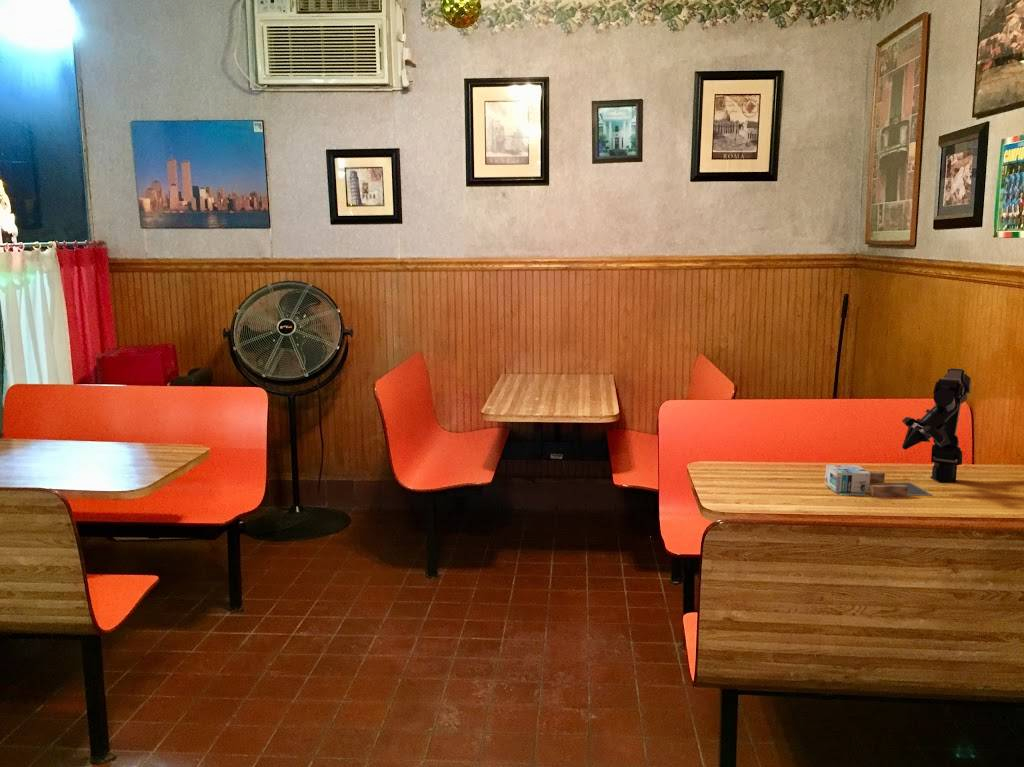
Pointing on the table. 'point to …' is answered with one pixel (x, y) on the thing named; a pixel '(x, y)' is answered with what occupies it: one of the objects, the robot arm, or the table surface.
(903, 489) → the walnut track
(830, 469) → the light bulb box
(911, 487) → the mat
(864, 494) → the teal pad
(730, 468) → the table surface
